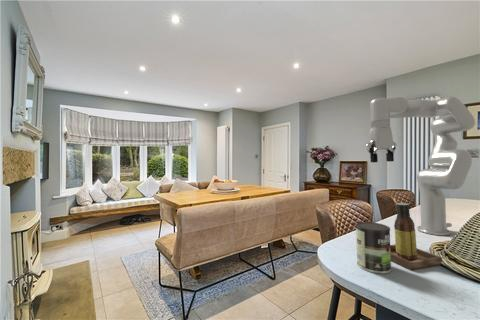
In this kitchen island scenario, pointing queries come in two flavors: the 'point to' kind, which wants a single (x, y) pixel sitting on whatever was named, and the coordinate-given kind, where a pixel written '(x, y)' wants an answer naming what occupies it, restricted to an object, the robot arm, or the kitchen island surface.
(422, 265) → the tray
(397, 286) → the kitchen island surface
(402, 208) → the sauce bottle
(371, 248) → the coffee can
